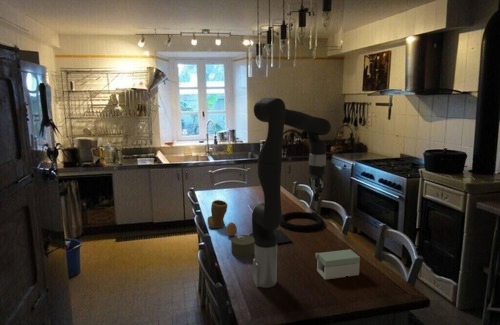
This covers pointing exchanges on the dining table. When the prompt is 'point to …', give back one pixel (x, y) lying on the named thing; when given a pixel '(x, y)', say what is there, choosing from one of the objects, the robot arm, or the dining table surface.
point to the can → (243, 246)
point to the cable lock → (302, 227)
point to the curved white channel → (337, 270)
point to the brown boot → (217, 214)
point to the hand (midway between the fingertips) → (315, 200)
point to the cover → (337, 257)
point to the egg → (231, 229)
